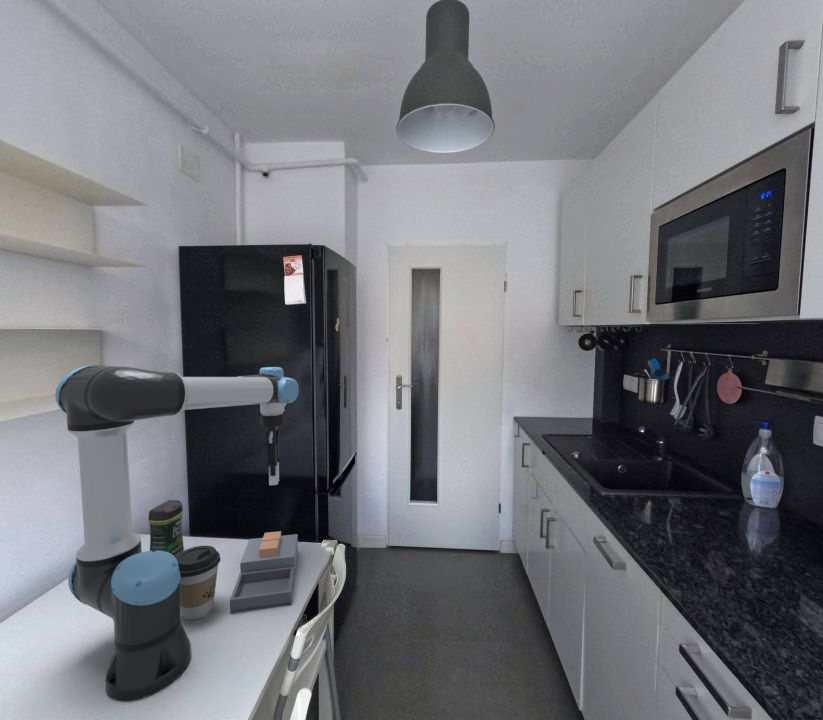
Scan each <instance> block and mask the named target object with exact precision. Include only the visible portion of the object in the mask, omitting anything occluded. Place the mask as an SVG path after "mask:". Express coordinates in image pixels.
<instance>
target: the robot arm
mask: <svg viewBox="0 0 823 720" xmlns="http://www.w3.org/2000/svg"><path fill="white" fill-rule="evenodd" d="M284 375H285V373H284V370H283V368H282V367H280V366H279V367H278V366H270V367H269V366H268V367H260V369H259V373H258V374H253V375H252V374H250V375H242V376H241V375H239V376H181V375H180V374H179V373H177V372H171V371H170V372H167V371H156V370H148V369H144V368H136V367H132V366H131V367H130V366H116V365H115V366H114V365H113V366H112V365H104V364H102V365H101V364H100V365H99V364H93V365H86V366H81V367H77V368H75V369H73V370H72V371H71V370H70V372H68V373H67V374H66V375H65V376H63V377H62V379H60V380H59V383H58V384H57V387H56V390H55V395H54V396H55V402H56V404H57V406H58V407H59V408H60V410H61V411H62V412H63V413H65V414H66V424H67V432H69V433H70V434H72V435H74V436H75V437H76V438H77V447H78V461H79V462H78V463H79V476H80V477H79V479H80V491H81V492H80V494H81V507H82V508H81V509H82V523H83V537H84V544H82V546H80V548H79V549H78V550H77V552H76V554H75V558H76V559H75V563H74V565H72V566H71V568H70V571H69V575H68V580H67V581H68V582H67V583H68V588H69V591H70V593H71V594H72V595H73V596H74V598H75V599H76V600H77V601H79V602H80V603H82V604H83V605H86V606H87V607H88V606H89V607H91V608H93V609H95V610H96V611H99V612H100V613H102V614H104V615H106V617H109V618H111V619H112V621H113V630H114V648H113V652H112V655H111V658H110V660H109V662H108V663H109V664H108V666H107V669H106V672H105V678H104V679H105V680H104V681H105V693H106V695H107V696H108V697H109V698H111V699H112V700H114V701H119V702H131V701H137V700H141V699H144V698H147V697H149V696H152V695H154V694H156V693H158V692H160V691H161V690H163V689H166V688H167V687H168V686H169V685H171V684H172V683H173V682H175V681H176V680H177V679H178V678H179V677H180V676H181V675H182V674H183V673H184V672H185V670H186V669H187V667H188V666H189V664H190V661H191V659H192V658H191V657H192V646H191V641H190V639H189V637H188V634H187V633H186V631H185V628H184V626H183V625H182V622H181V621H182V619H181V618H182V614H181V611H180V572H179V566H178V561H177V559H176V558H175V557H174V556H173V555H172V554H170V553H168V552H165V551H155V552H152V551H150V550H148V551H142V539H141V538H142V537H141V534H138V533H137V532H135V531H133V521H132V520H133V519H132V505H131V503H132V502H131V501H132V499H131V486H130V485H131V484H130V482H131V481H130V468H129V467H130V466H129V464H130V463H129V452H128V451H129V450H128V449H129V448H128V434H127V432H128V430H129V429H130V428H131V427H132V426H133V425H134V424H135V421H141V420H146V419H152V418H153V419H154V418H159V417H169V416H170V417H171V416H176V415H178V414H179V413H180V412H181V411H186V410H199V409H210V408H225V407H236V406H237V407H238V406H249V405H259V407H260V408H259V409H260V413H261V414H260V426H261V427H263V428H267V431H266V433H265V436H266V446H267V447H266V449H267V450H266V453H267V464H266V467H268V485H269V486H277V485H279V482H280V463H279V462H281V461H282V459H281V458H280V434H281V430H280V429H279V427H281V426H284V425H285V423H286V421H285V420H286V419H285V413H284V412H285V407H286V406H287V404H291V403H294V402H295V401H296V400H297V398H298V397H299V391H300V389H299V388H300V387H299V384H298V382H297V380H296V379H294V378H291V377H286V376H284Z"/></svg>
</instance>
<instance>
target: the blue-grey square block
mask: <svg viewBox="0 0 823 720" xmlns="http://www.w3.org/2000/svg"><path fill="white" fill-rule="evenodd" d="M248 539H249V538H248ZM262 540H263V537H257V538H250V539H249V540H248V542H247V545H246V547H245V550H244V553H243V555H242V557H241V560H240V562H239V563H240V564H239V565H240V568H239V569H240V571H239V572H240V573H246V572H255V571H263V570H271V569H279V568H287V567H294V577H295V576H296V570H297V560H298V554H299V553H298V552H299V550H298V549H299V541H298V540H299V538H298V533H294V534H287V535H285V534H284V535H281V541H280V546H279V550H278V555H277V556H272V557H264V558H259V549H260V546H261V543H262Z"/></svg>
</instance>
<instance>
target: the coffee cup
mask: <svg viewBox="0 0 823 720" xmlns="http://www.w3.org/2000/svg"><path fill="white" fill-rule="evenodd" d="M176 559H177V561H178V566H179V572H180V614H181V617H182V618H183V619H184V620H186V621H195V620H198V619H201V618H203V617H205V616H207V615H208V614H210V613H211V612H212V610H213V607H214V604H215V596H216V595H215V594H216V588H217V587H216V586H217V578H218V577H217V576H218V570H219V569H218V567H219V564H220V562H221V554H220V553H219V551H218V550H217V549H216V547H214V546H211V545H197V546H193V547H189V548H187V549H184V551H183V552H182V553H180V554H179V555H178V556H177V557H176Z"/></svg>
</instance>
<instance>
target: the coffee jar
mask: <svg viewBox="0 0 823 720" xmlns="http://www.w3.org/2000/svg"><path fill="white" fill-rule="evenodd" d="M183 513H184V510H183V503H182V501H180V500H179V499H167V500H166V501H164V502H163V503H160V504H158V505H157V506H155V507H154V508H152V509H150V510H149V511H148V517H147V518H148V523H149V533H150V535H149V537H150V539H149V551H152V552H155V551H165V552H168V553H170V554H172V555H173V556H174V557H175V558H176V557H177V556H178V555H179V554H180V553H182V552H183V551H185V548H184V547H185V546H184V537H183V529H182V528H183V527H182V519H183Z"/></svg>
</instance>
